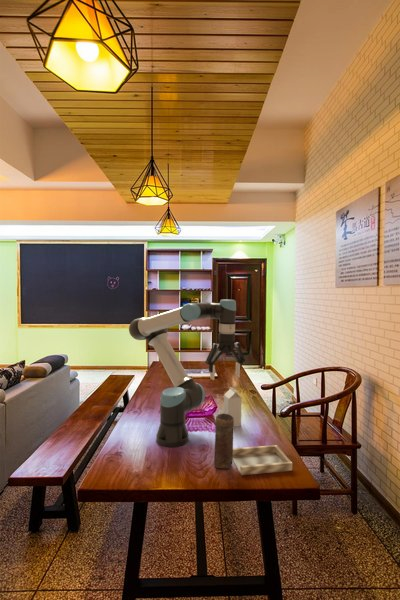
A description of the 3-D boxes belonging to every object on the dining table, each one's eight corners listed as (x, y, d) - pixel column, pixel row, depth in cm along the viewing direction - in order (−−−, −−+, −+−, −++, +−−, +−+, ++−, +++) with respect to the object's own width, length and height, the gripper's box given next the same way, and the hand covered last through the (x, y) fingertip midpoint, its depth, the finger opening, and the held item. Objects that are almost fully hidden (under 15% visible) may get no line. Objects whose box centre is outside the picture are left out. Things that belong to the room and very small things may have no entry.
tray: (241, 475, 124) (241, 467, 124) (230, 455, 139) (230, 448, 139) (292, 470, 128) (292, 463, 128) (276, 451, 143) (276, 444, 143)
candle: (231, 461, 134) (232, 413, 134) (234, 470, 127) (235, 420, 126) (213, 461, 134) (214, 413, 133) (214, 471, 127) (215, 420, 126)
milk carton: (228, 427, 167) (228, 391, 167) (223, 422, 174) (224, 387, 173) (241, 426, 169) (241, 390, 169) (236, 420, 176) (236, 386, 175)
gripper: (206, 334, 142) (204, 382, 143) (253, 333, 153) (251, 377, 154) (199, 332, 148) (197, 378, 149) (244, 330, 159) (243, 373, 160)
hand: (225, 377), depth 151 cm, fingers open, 13 cm apart
